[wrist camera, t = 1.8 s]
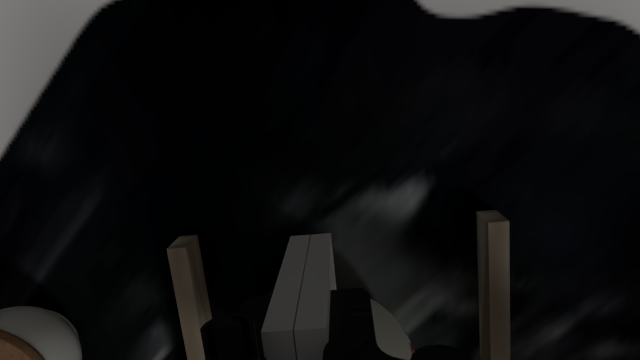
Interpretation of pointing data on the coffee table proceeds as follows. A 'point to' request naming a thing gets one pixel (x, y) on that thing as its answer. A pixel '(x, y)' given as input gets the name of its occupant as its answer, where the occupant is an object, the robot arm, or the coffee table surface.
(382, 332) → the pitcher
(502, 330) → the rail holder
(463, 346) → the coffee table surface
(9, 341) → the lidded jar
